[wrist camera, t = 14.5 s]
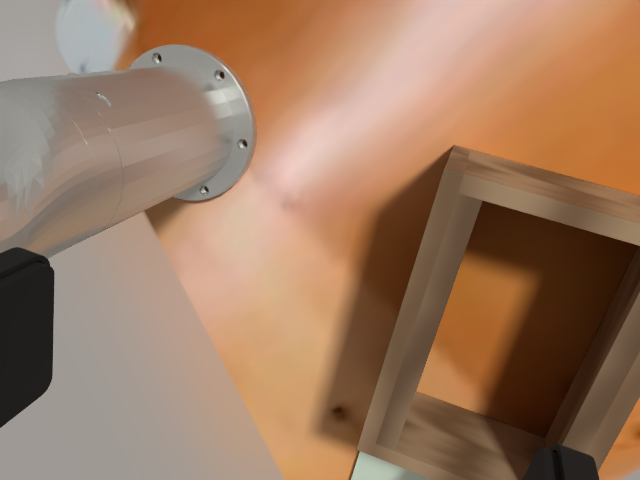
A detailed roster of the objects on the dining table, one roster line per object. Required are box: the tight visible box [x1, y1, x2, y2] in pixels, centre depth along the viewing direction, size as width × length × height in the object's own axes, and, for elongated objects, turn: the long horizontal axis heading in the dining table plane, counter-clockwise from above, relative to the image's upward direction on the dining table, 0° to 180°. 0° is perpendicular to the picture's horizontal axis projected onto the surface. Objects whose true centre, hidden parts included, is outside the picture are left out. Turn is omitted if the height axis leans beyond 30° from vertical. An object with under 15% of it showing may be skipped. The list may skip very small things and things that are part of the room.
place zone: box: [351, 451, 432, 480], centre depth 50 cm, size 9×9×1 cm
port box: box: [356, 145, 640, 480], centre depth 39 cm, size 15×22×8 cm
